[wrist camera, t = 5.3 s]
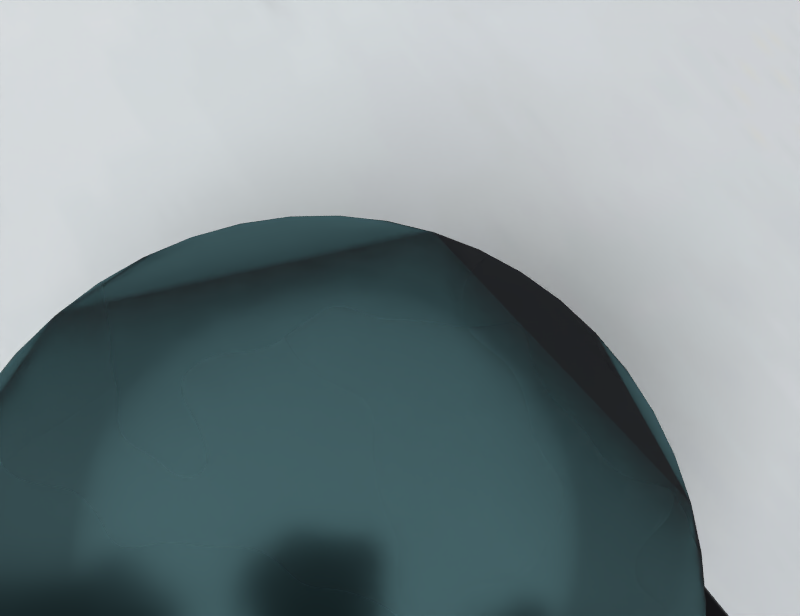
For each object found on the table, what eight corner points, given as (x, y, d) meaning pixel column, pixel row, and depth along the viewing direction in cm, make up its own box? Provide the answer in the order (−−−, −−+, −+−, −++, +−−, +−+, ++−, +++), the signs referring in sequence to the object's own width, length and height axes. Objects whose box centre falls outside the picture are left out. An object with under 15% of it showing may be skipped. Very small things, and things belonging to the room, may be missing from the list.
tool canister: (472, 448, 15) (844, 752, 4) (316, 538, 15) (130, 1254, 3) (389, 295, 16) (475, 93, 4) (233, 378, 15) (-244, 447, 3)
